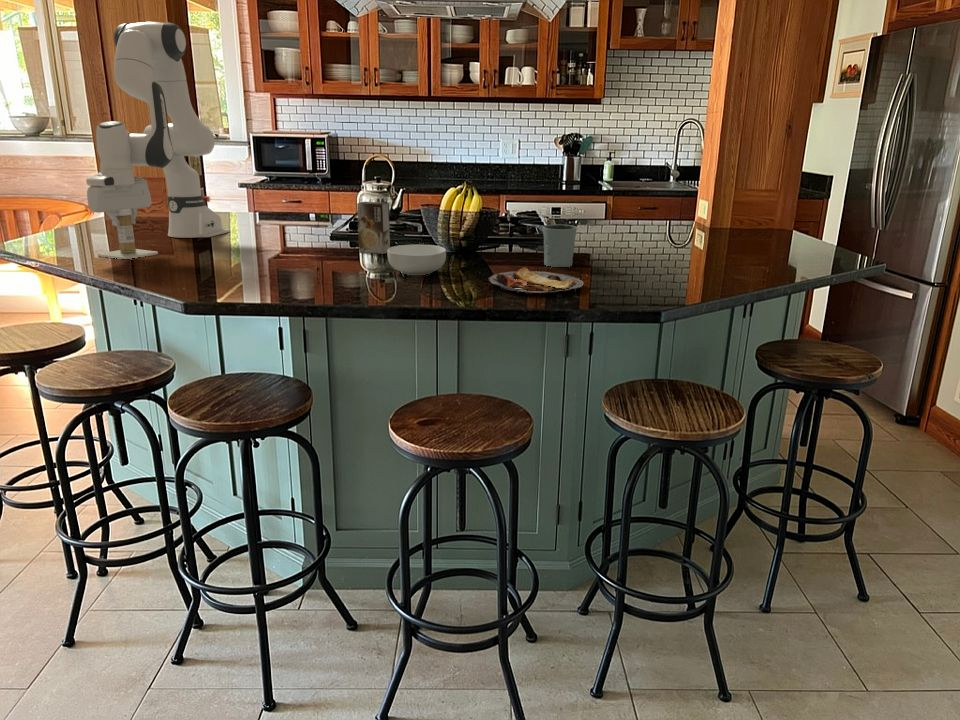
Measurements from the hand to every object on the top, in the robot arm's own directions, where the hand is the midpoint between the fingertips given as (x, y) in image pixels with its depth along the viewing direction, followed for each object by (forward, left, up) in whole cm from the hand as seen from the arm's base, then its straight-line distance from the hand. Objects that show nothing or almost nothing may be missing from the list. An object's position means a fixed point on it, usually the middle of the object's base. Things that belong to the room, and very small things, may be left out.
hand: (124, 224), depth 220 cm
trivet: (0, 0, -10) cm, 10 cm away
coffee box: (-44, +62, -10) cm, 77 cm away
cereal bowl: (-20, +91, -10) cm, 94 cm away
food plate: (-20, +127, -10) cm, 129 cm away
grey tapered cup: (-52, +123, -10) cm, 134 cm away
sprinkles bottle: (0, 0, -9) cm, 9 cm away
